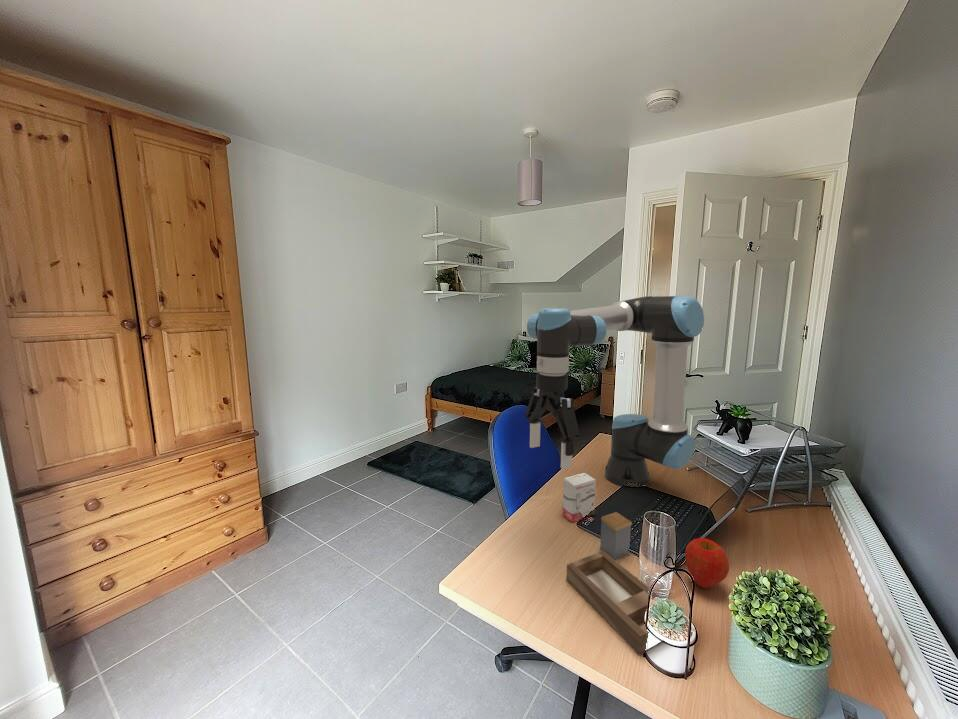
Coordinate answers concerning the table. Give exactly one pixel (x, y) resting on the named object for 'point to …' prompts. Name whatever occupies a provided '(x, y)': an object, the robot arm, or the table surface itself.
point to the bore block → (613, 595)
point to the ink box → (578, 496)
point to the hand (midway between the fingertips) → (549, 456)
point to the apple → (706, 562)
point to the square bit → (615, 535)
